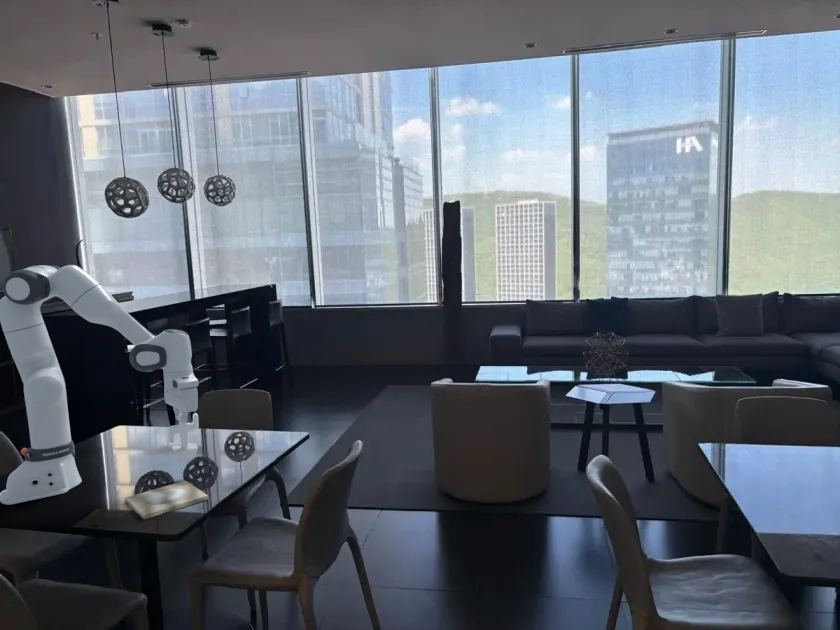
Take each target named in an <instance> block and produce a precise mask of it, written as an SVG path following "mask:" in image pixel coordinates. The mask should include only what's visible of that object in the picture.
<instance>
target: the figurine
mask: <svg viewBox="0 0 840 630" xmlns="http://www.w3.org/2000/svg"><path fill="white" fill-rule="evenodd" d="M180 417H181V414H179V415H178V420H177V421H178V424H174V425H171V426H168V429H167V434H168V436H167V437H168V442H169V443H172V444H173V443H174V442H175V435H176V434H179V438H180V439H179V440H180V445H175V446H174V445H173V446H172V447H171V448H172V451H174V453H175V455H176V458H177V459H178V461H179V462H185V461H189V460H190V461H191V460H194V459H195V457H196V455H197V453H198V451H199V447H198V445H197V444H196V442H192V443H190V441H189V440H190V439H189V432H193V431H197V430H199V427H200V426H199V415H198V413H196V412H195V413H193V414H192V422H188V421H187V422H184V423H183V422H181V421H180Z"/></svg>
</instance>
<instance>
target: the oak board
mask: <svg viewBox="0 0 840 630" xmlns="http://www.w3.org/2000/svg"><path fill="white" fill-rule="evenodd" d="M207 500H209V495H208V494H206V493H204V491H202V490H201V489H199V488H198V487H196V486H195V485H193V484H192V483H190V482H189V481H187V480H183V481H178V482H175V483H173V484H171V483H170V484H169V485H164V486H161V487H158V488H154V489H151V490H146V491H144V492H141V493H137V494H134V495H133V494H132V495H131V496H126V497H124V502H125V503H126V504H127V505H128V506H129V507H130V508H131V509H132V510H133V511H134V512H135V513H136V514H138V515H139V517H141V518H142V519H143V520H147V519H150V518H154V517H156V516H160V515H163V513H164V514H167V513H170V512H173V511H176V510H179V509H182V508H185V507H188V506H192V505H195V504H198V503H201V502H204V501H207ZM166 512H167V513H166Z"/></svg>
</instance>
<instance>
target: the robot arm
mask: <svg viewBox="0 0 840 630" xmlns="http://www.w3.org/2000/svg"><path fill="white" fill-rule="evenodd" d="M2 291H3V294H4V296H3V297H1V299H0V325H1V328H2V331H3V334H4V336H5V340H6V342H7V346H8V349H9V350H10V354H11V356H12V359H13V361H14V363H15V365H16V368H17V371H18V373H19V375H20V378H21V382H22V383H23V394H24V403H25V408H26V409H25V410H26V416H27V422H28V430H29V440H30V446H31V447H29V448H27V447H22V449H21V450H20V453H21V455H23V456H24V461H23V462H22V463H21V464H20V465H18V467H17V468H15V469H14V470H13V471H12V472H11V473H10V474H9V475H8V477H7V481H6V487H5V488H6V489H3V490H2V491H1V492H0V503H1V504H3V505H10V506H11V505H15V504H20V503H25V502H28V501H33V500H38V499H43V498H47V497H52V496H57V495H61V494H65V493H67V492H68V491H69V490H71V489H73V488H75V487H76V486H78V485H80V484H81V483H82V481H83V480H82V478H81V475H80V473H79V471H78V467H77V465H76V461H75V455H76V452H75V451H76V450H75V444H74V440H72V435H71V425H70V419H69V418H70V417H69V415H70V414H69V409H68V407H69V406H68V397H67V389H66V387H67V386H66V382H65V377H64V375H63V372H62V369H61V367H60V363H59V360H58V357H57V355H56V352H55V349H54V346H53V344H52V341H51V338H50V336H49V332H48V329H47V327H46V323H45V321H44V319H43V315H42V313H41V305H42V304H43V303H48V302H50V301H51V300H53V299H54V298H59V299H61V300H62V301H63V302H64V303H66V304H67V305H68V306H69V307H70V308H71V309H72V311H74V312H75V313H76V314H78V316H80V317H82V318H83V319H84V320H86V321H87V322H89V323H92V324H98V325H103V326H108V327H109V328H112V329H114V330H116V331H117V332H119V334H121V335H122V336H123V337H125V339H126V340H128V341H129V342H130V343H131V344H133V345H134V346H133V348H132V349H131V350H130V352H129V357H128V358H129V363H130V364H131V366H132V368H134V369H135V370H136V371H139V372H143V373H145V372H146V373H147V372H153V371H156V370H159V369H162V370H163V382H164V383H163V384H164V386H163V387H164V388H163V389H164V391H163V392H164V393H163V395H164V397H163V398H164V402H165V404H167V405H169V406H171V407H172V408H173V411H174V414H175V415H174V416H175V420H177V421H179V420H178V415H179V414H181V417H180V421H181V422H183V423H184V422H187V423H188V421H189V419H188V416H189V413H191V412H196V411H197V410H198V407H199V397H198V396H199V395H198V393H199V392H198V387H199V380H198V378H197V377H196V376H195V374H194V368H193V365H192V357H193V353H192V343H191V339H190V336H189V334H188V333H187V332H186V331H184V330H182V329H181V330H179V329H174V328H173V329H172V328H171V329H170V328H168V329H164V330H163V331H162V332H161V333H159V334H157V335H156V334H154V333H152V332H151V331H150V330H148V329H147V328H146V327H145V326H144V325H142V324H141V323H140V322H139V321H138V320H137V319H136V318H134V317H133V315H132V314H130V313H129V312H128V311H127V310H125V308H124V307H123V306H122V305H121V304H120V303H119V302H118V301H117V300H116V298H114V296H113V295H112V294H111V293H110V292H109V291H108V290H107V289H106V288H105V286H104V285H102V284H101V283H100V282H99V281H98V280H97V279H96V278H94V277H93V276H92V275H91V274H89V273H88V272H87V271H86V270H84V269H83V268H81V267H80V266H78V265H76V264H75V265H74V264H68V265H64V266H62V267H59V266H58V265H57V266H56V265H55V264H41V265H40V264H39V265H32V266H28V267H27V268H23V269H18V270H15V271H12V273H10V274H8V275H7V276H6V277H5V278H4V280H3V283H2Z"/></svg>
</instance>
